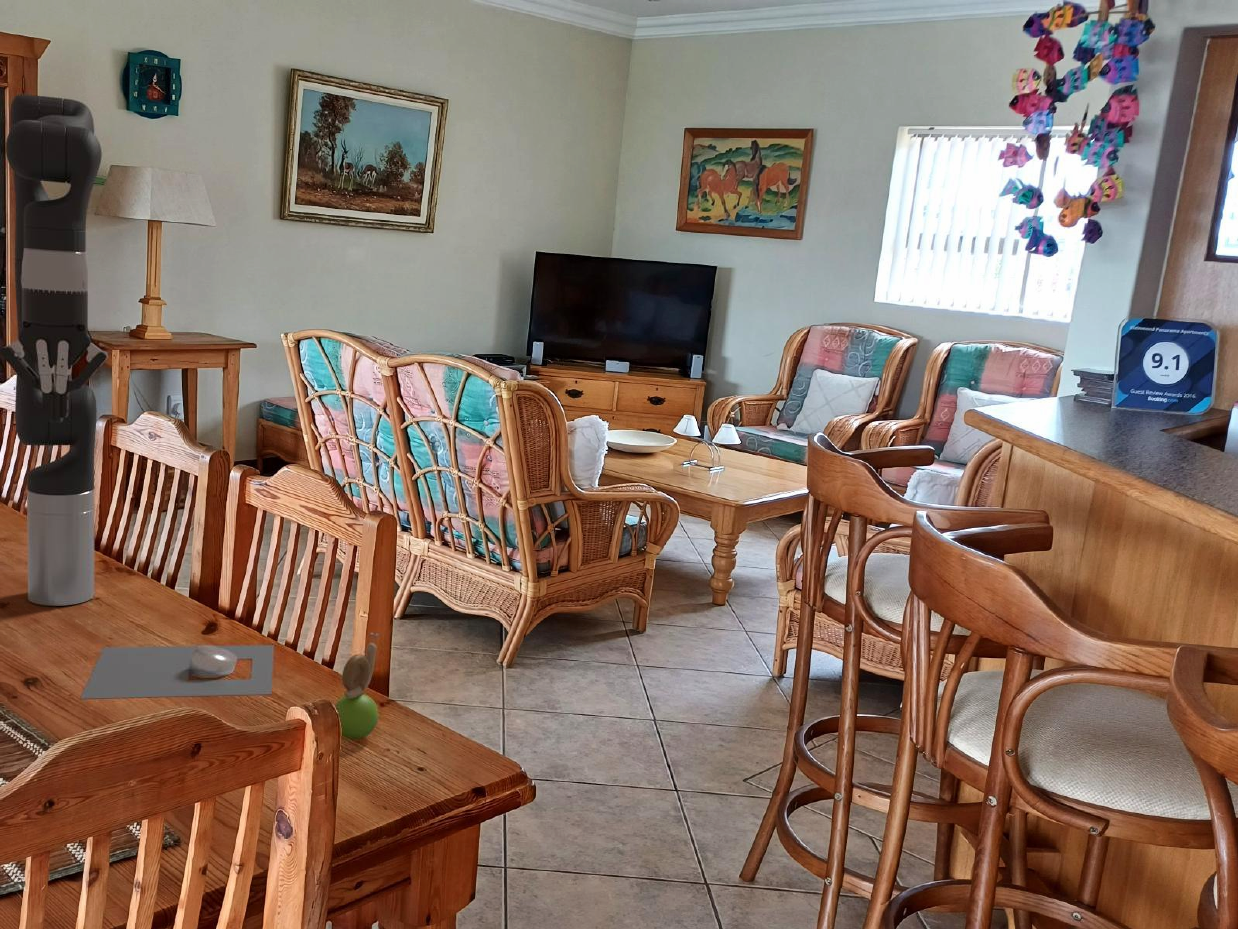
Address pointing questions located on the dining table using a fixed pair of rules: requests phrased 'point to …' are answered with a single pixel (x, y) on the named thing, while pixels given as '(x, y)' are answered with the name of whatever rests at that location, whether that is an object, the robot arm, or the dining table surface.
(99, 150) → the robot arm
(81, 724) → the dining table surface
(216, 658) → the silver rounded puck
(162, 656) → the charcoal board
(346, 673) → the green toy figure
